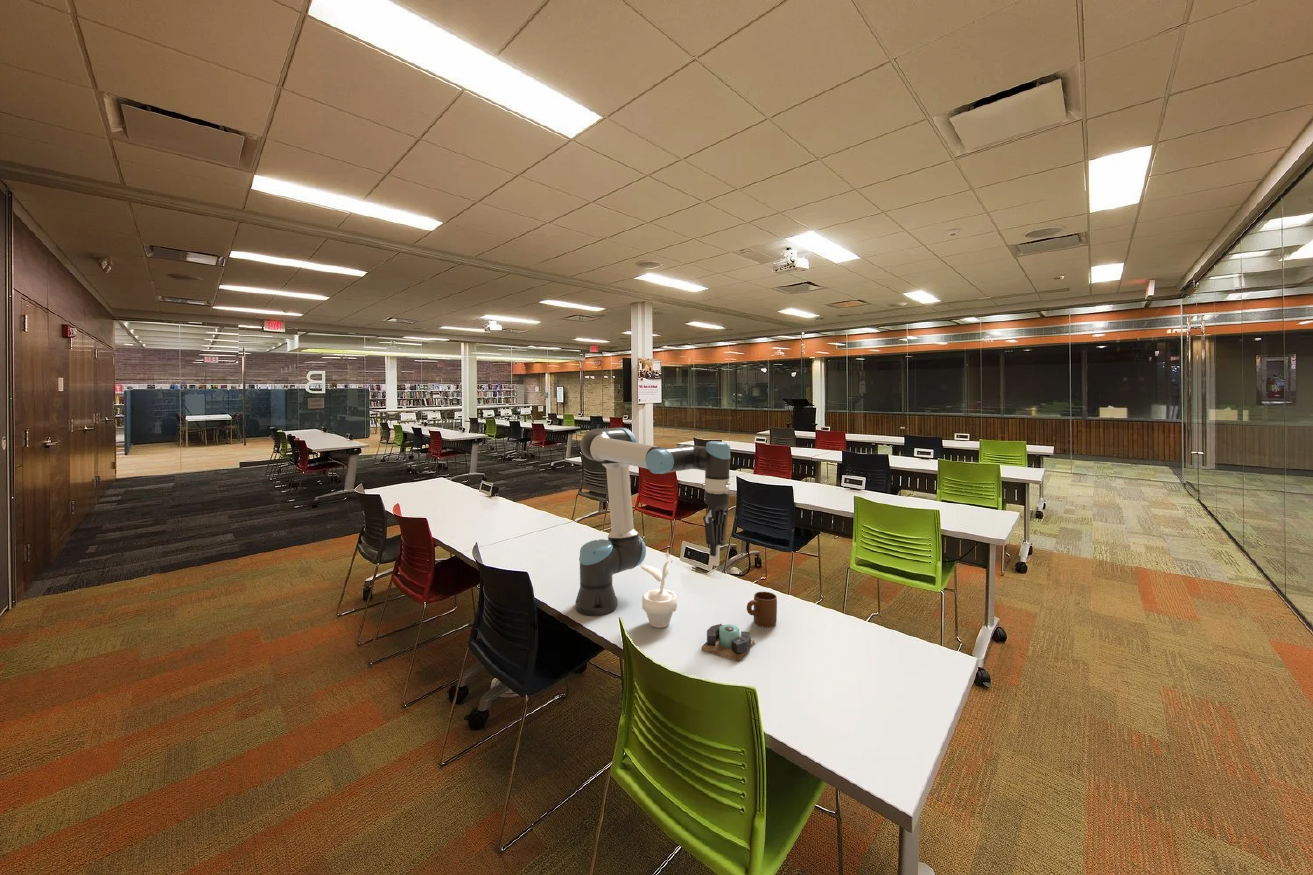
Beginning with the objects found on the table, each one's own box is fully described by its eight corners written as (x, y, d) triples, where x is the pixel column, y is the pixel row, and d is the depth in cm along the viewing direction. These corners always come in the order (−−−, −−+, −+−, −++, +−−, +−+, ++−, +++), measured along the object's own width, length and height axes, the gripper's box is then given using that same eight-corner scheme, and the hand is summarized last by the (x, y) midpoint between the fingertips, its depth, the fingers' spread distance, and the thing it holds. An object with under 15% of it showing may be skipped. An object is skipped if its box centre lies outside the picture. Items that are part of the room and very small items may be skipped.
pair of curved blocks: (702, 644, 143) (702, 634, 143) (715, 631, 151) (715, 622, 151) (742, 656, 136) (742, 646, 136) (754, 642, 144) (754, 632, 144)
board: (701, 649, 142) (701, 646, 142) (718, 633, 152) (718, 630, 152) (739, 661, 135) (739, 657, 135) (754, 643, 145) (754, 640, 145)
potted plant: (682, 620, 161) (682, 548, 159) (668, 635, 150) (668, 558, 149) (648, 613, 166) (648, 543, 164) (633, 627, 156) (633, 553, 154)
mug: (755, 633, 151) (755, 605, 151) (739, 624, 158) (739, 597, 157) (781, 624, 158) (781, 597, 157) (764, 615, 164) (765, 589, 164)
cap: (715, 644, 142) (716, 629, 142) (724, 636, 147) (724, 622, 147) (734, 650, 139) (734, 635, 139) (742, 641, 144) (742, 627, 144)
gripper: (718, 496, 140) (715, 573, 142) (736, 489, 150) (733, 561, 152) (696, 493, 144) (693, 568, 146) (715, 486, 154) (713, 556, 157)
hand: (714, 564), depth 149 cm, fingers closed
